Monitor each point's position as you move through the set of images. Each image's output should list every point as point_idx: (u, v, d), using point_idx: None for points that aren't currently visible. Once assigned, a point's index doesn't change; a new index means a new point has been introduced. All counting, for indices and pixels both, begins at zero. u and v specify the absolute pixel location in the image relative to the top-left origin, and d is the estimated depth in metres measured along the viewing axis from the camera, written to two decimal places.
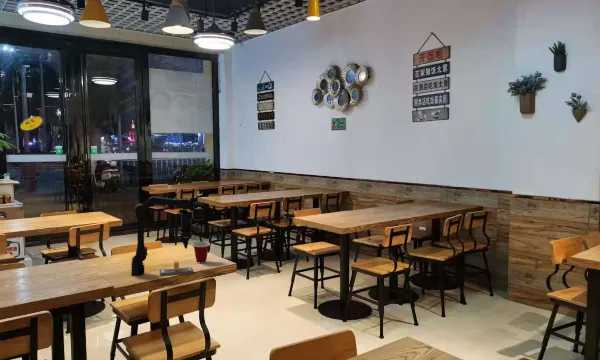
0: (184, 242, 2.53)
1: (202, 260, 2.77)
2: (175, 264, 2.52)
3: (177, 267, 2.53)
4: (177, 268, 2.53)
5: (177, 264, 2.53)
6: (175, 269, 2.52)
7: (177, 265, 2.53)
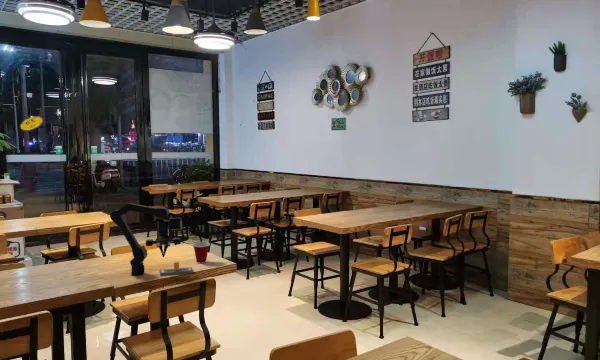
0: None
1: (202, 260, 2.77)
2: (175, 264, 2.52)
3: (177, 267, 2.53)
4: (177, 268, 2.53)
5: (177, 264, 2.53)
6: (175, 269, 2.52)
7: (177, 265, 2.53)
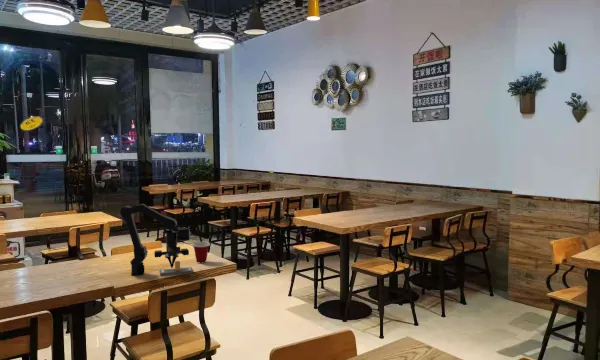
0: (169, 261, 2.54)
1: (202, 260, 2.77)
2: (176, 264, 2.53)
3: (178, 267, 2.53)
4: (178, 268, 2.53)
5: (178, 264, 2.53)
6: (176, 269, 2.53)
7: (178, 265, 2.53)
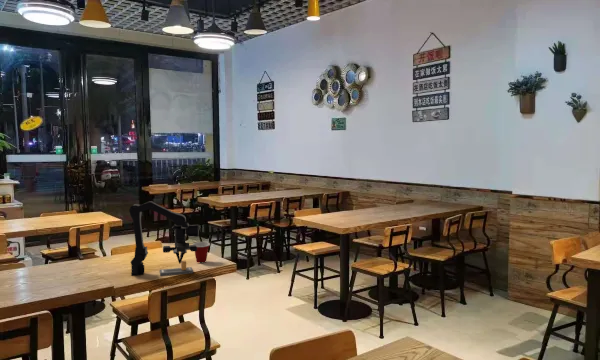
0: (177, 256, 2.55)
1: (202, 260, 2.77)
2: (182, 263, 2.54)
3: (184, 266, 2.54)
4: (184, 267, 2.54)
5: (184, 263, 2.54)
6: (182, 268, 2.54)
7: (184, 264, 2.54)
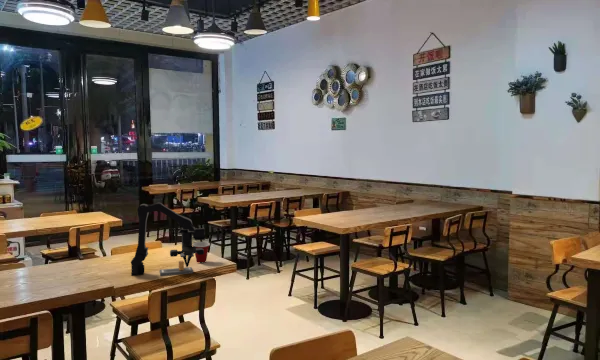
0: (184, 260, 2.57)
1: (202, 260, 2.77)
2: (180, 264, 2.53)
3: (182, 267, 2.54)
4: (182, 268, 2.54)
5: (182, 264, 2.54)
6: (180, 269, 2.53)
7: (182, 265, 2.54)
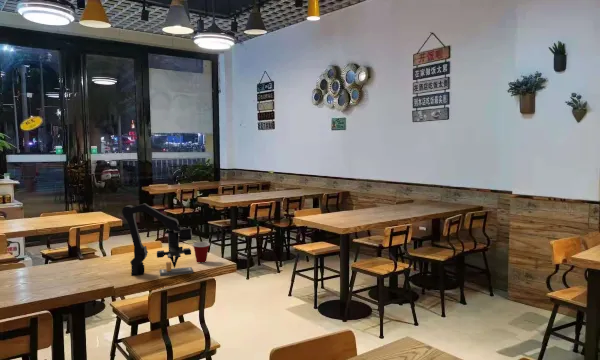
0: None
1: (202, 260, 2.77)
2: (167, 265, 2.51)
3: (169, 268, 2.51)
4: (169, 269, 2.51)
5: (169, 265, 2.51)
6: (167, 270, 2.51)
7: (169, 266, 2.51)
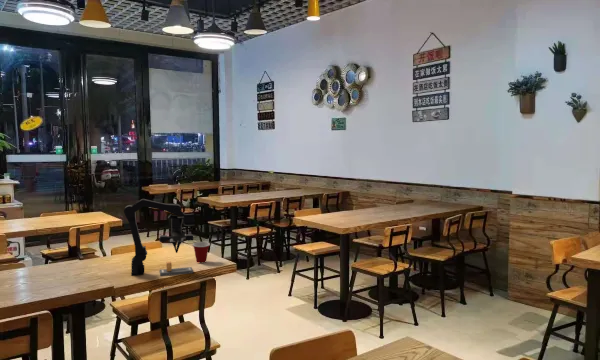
0: None
1: (202, 260, 2.77)
2: (168, 265, 2.51)
3: (170, 268, 2.51)
4: (170, 269, 2.51)
5: (170, 265, 2.51)
6: (168, 270, 2.51)
7: (170, 266, 2.51)
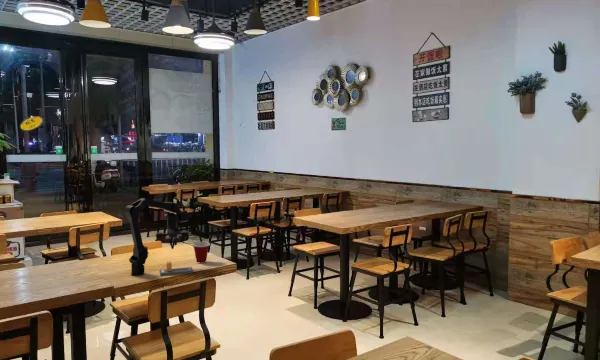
0: None
1: (202, 260, 2.77)
2: (168, 265, 2.51)
3: (170, 268, 2.51)
4: (170, 269, 2.51)
5: (170, 265, 2.51)
6: (168, 270, 2.51)
7: (170, 266, 2.51)
